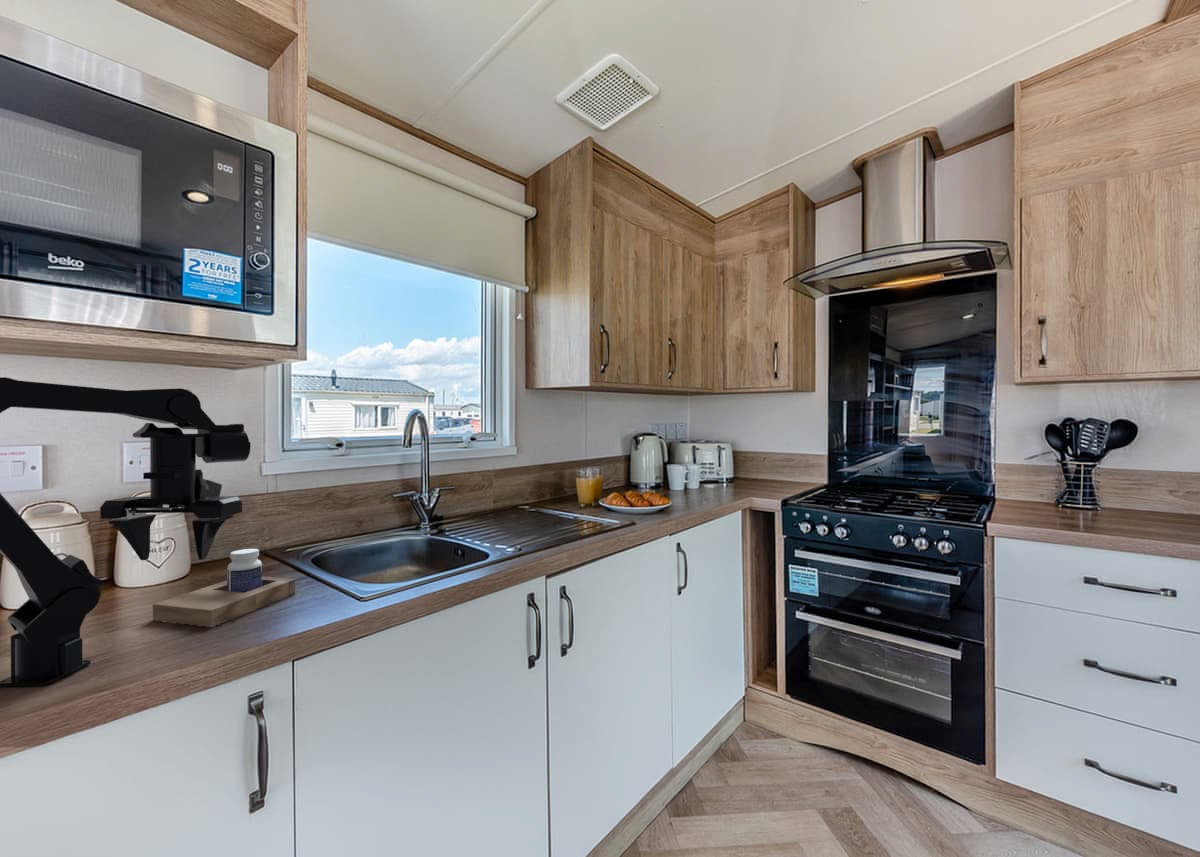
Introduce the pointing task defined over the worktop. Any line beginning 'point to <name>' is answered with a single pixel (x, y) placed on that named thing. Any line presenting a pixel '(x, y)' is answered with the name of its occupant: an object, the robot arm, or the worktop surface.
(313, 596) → the worktop surface
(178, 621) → the brown block with opening
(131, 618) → the worktop surface
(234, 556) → the pill bottle
